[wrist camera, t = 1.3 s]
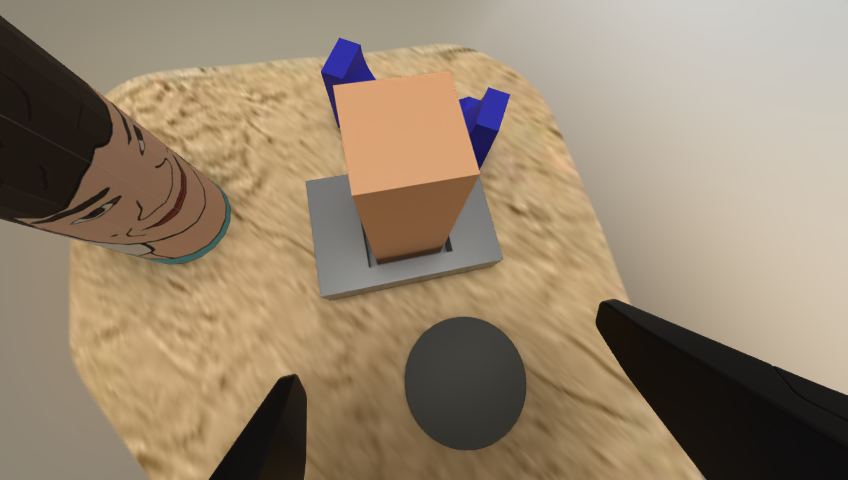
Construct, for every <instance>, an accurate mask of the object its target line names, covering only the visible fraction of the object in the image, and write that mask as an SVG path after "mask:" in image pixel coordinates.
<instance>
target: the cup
mask: <svg viewBox="0 0 848 480" xmlns="http://www.w3.org/2000/svg"><path fill="white" fill-rule="evenodd" d="M0 219H3V220H7V221H10V222H14V223H18V224H21V225H25V226H29V227H32V228H36V229H39V230H43V231H47V232H50V233H54V234H58V235H61V236H65V237H68V238H72V239H76V240H79V241H83V242H87V243H90V244H94V245H97V246H101V247H105V248H108V249H112V250H116V251H119V252H123V253H127V254H130V255H134V256H137V257H141V258H145V259H148V260H152V261H156V262H161V263H166V264H178V263H187V262H189V261H192V260H194V259H197V258H199V257H202V256H203V255H205V254H206V253H207V252H209V251H210V250H211V249H213V248H214V247H215V246H216V245H217V244H218V242H219V241H220V240H221V239H222V237H223V236H224V235H225V232H226V230H227V227H228V225H229V222H230V205H229V202H228V199H227V196H226V195H225V193H224V192H223V191H222V190H221V189H220V187H219V186H218V185H216V184H215V183H214V182H213V181H211V180H210V179H209V178H207V177H206V176H205V175H204V174H202V173H201V172H200V171H198V170H197V169H196V168H195V167H193V166H192V165H191V164H190V163H188V162H187V161H186V160H184V159H183V158H182V157H181V156H179V155H178V154H177V153H175V152H174V151H173V150H172V149H170V148H169V147H168V146H166V145H165V144H164V143H163V142H161V141H160V140H159V139H158V138H156V137H155V136H154V135H152V134H151V133H150V132H149V131H147V130H146V129H145V128H143V127H142V126H141V125H140V124H138V123H137V122H136V121H135V120H133V119H132V118H131V117H129V116H128V115H127V114H126V113H124V112H123V111H122V110H120V109H119V108H118V107H117V106H115V105H114V104H113V103H112V102H110V101H109V100H108V99H106V98H105V97H104V96H103V95H101V94H100V93H99V92H97V91H96V90H95V89H93V88H92V87H91V86H90V85H88V84H87V83H86V82H85V81H83V80H82V79H81V78H80V77H78V76H77V75H76V74H74V73H73V72H72V71H71V70H69V69H68V68H67V67H65V66H64V65H63V64H62V63H60V62H59V61H58V60H57V59H55V58H54V57H53V56H51V55H50V54H49V53H48V52H46V51H45V50H44V49H42V48H41V47H40V46H39V45H37V44H36V43H35V42H33V41H32V40H31V39H30V38H28V37H27V36H26V35H24V34H23V33H22V32H21V31H19V30H18V29H17V28H16V27H14V26H13V25H12V24H10V23H9V22H8V21H7V20H5V19H4V18H3V17H2V16H0Z"/></svg>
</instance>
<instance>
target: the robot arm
mask: <svg viewBox="0 0 848 480" xmlns="http://www.w3.org/2000/svg"><path fill="white" fill-rule="evenodd" d="M596 326H597V329H598V331H599V332H600V334H601V335H602V337H603V339H604V340H605V342H606V343H607V345H608V346H609V348H610V350H611V351H612V353H613V354H614V356H615V358H616V359H617V361H618V362H619V364H620V366H621V367H622V369H623V370H624V372H625V373H626V375H627V376H628V377H629V379H630V380H631V382H632V383H633V384H634V385H635V387H636V388H637V389H638V391H639V392H640V393H641V395H642V396H643V397H644V399H645V400H646V401H647V403H648V404H649V405H650V406H651V408H652V409H653V410H654V412H655V413H656V414H657V416H658V417H659V418H660V420H661V421H662V422H663V423H664V425H665V426H666V427H667V429H668V430H669V431H670V433H671V434H672V435H673V437H674V438H675V439H676V441H677V442H678V443H679V444H680V446H681V447H682V448H683V450H684V451H685V452H686V454H687V455H688V456H689V458H690V459H691V460H692V462H693V463H694V464H695V465H696V467H697V468H698V469H699V471H700V472H701V473H702V475H703V476H704V477H705V479H706V480H848V395H845V394H843V393H840V392H838V391H835V390H832V389H830V388H827V387H825V386H822V385H820V384H817V383H815V382H812V381H810V380H807V379H805V378H803V377H800V376H798V375H795V374H793V373H790V372H788V371H785V370H783V369H781V368H779V367H776V366H772V365H771V364H769V363H766V362H764V361H762V360H759V359H757V358H755V357H752V356H750V355H747V354H745V353H742V352H740V351H738V350H736V349H733V348H731V347H728V346H726V345H723V344H721V343H719V342H716V341H714V340H712V339H709V338H707V337H704V336H702V335H700V334H697V333H695V332H693V331H690V330H688V329H685V328H683V327H681V326H678V325H676V324H673V323H671V322H669V321H666V320H664V319H662V318H659V317H657V316H654V315H652V314H650V313H647V312H645V311H643V310H640V309H638V308H636V307H633V306H631V305H628V304H626V303H624V302H621V301H619V300H616V299H610V300H606V301H602V302H601V303H600V304H599V308H598V312H597V316H596ZM306 429H307V396H306V392H305V390H304V388H303V386H302V383H301V381H300V379H299V377H298V376H297V375H296V374H292V375H287V376H283V377H281V378H280V379H278V381H277V382H276V384H275V385H274V386H273V388H272V389H271V391H270V392H269V394H268V395H267V397H266V398H265V399H264V401H263V402H262V404H261V405H260V407H259V408H258V409H257V411H256V412H255V414H254V415H253V417H252V418H251V419H250V421H249V422H248V424H247V425H246V427H245V428H244V430H243V431H242V432H241V434H240V435H239V437H238V438H237V440H236V441H235V442H234V444H233V445H232V447H231V448H230V450H229V451H228V452H227V454H226V455H225V457H224V458H223V460H222V461H221V463H220V464H219V465H218V467H217V468H216V470H215V471H214V473H213V474H212V475H211V477H210V478H209V480H304V474H305V464H306Z"/></svg>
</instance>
